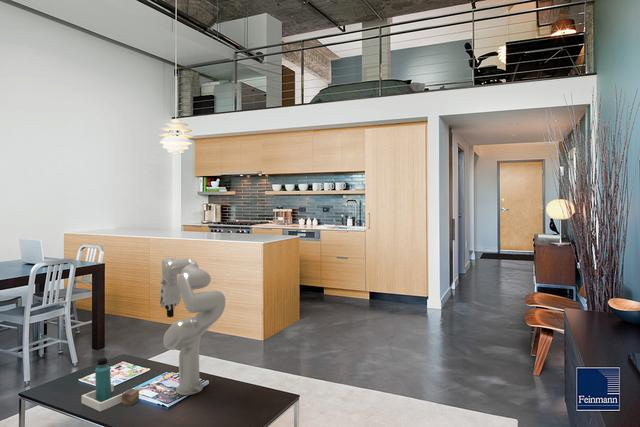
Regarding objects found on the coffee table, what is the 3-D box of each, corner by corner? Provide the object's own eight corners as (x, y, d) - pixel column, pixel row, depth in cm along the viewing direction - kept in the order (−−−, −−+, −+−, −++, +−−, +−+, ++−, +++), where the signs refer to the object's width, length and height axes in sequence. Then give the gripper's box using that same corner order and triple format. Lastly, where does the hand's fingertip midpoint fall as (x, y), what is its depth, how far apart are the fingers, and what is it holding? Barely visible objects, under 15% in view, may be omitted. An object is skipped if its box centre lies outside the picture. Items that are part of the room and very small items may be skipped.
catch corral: (131, 398, 198) (131, 390, 197) (100, 411, 185) (100, 403, 185) (112, 390, 206) (112, 383, 205) (81, 403, 193) (81, 395, 193)
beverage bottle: (113, 401, 194) (112, 359, 193) (97, 406, 190) (96, 363, 189) (109, 396, 199) (108, 355, 198) (93, 401, 195) (92, 358, 194)
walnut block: (139, 400, 195) (138, 389, 195) (132, 405, 191) (131, 394, 190) (129, 399, 197) (129, 388, 196) (122, 404, 192) (122, 393, 192)
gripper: (162, 285, 211) (162, 321, 212) (186, 280, 224) (186, 314, 224) (152, 283, 215) (153, 319, 216) (176, 279, 228) (177, 312, 228)
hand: (170, 316), depth 220 cm, fingers closed
